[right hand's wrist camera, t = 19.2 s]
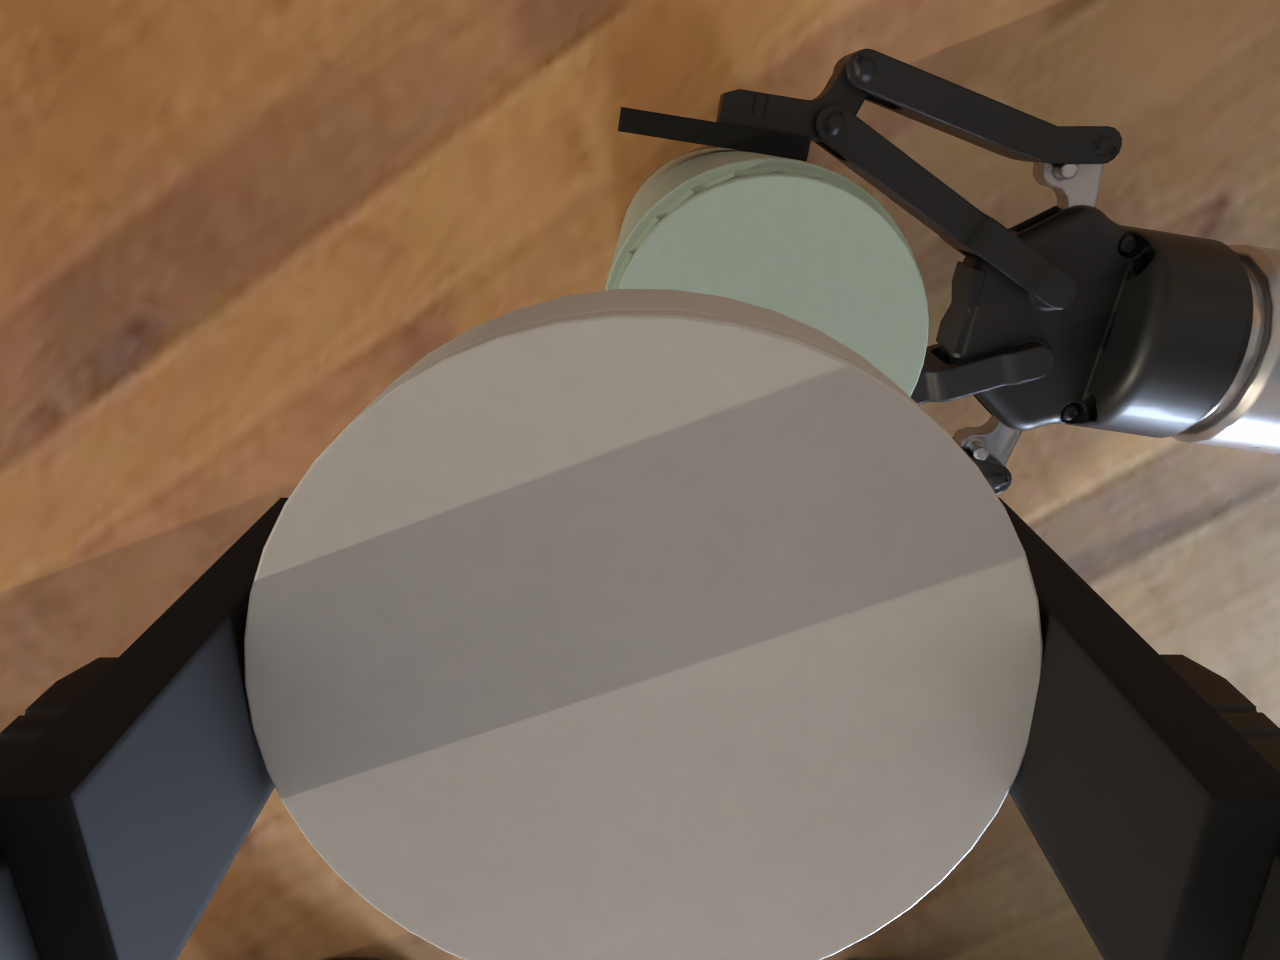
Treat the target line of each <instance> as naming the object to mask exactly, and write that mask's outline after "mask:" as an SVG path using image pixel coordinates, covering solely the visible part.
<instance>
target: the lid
mask: <svg viewBox="0 0 1280 960" xmlns="http://www.w3.org/2000/svg"><path fill="white" fill-rule="evenodd" d="M1042 655H1043V640H1042V631H1041V622H1040V613H1039V604H1038V597H1037V594H1036V590H1035V586H1034V583H1033V579H1032V575H1031V572H1030V568H1029V564H1028V561H1027V557H1026V554H1025V551H1024V549H1023V547H1022V545H1021V542H1020V540H1019V538H1018V536H1017V533H1016V531H1015V529H1014V527H1013V525H1012V522H1011V520H1010V518H1009V516H1008V514H1007V511H1006V509H1005V507H1004V506H1003V504H1002V503H1001V501H1000V500H999V498H998V497H997V495H996V494H995V492H994V491H993V489H992V488H991V486H990V485H989V483H988V482H987V480H986V479H985V477H984V476H983V474H982V473H981V471H980V470H979V468H978V466H977V465H976V464H975V463H974V462H973V461H972V460H971V459H970V457H969V456H968V455H967V454H966V453H965V452H964V451H963V450H962V449H961V448H960V446H959V445H958V444H957V443H956V442H955V441H954V440H953V439H952V438H951V436H950V435H949V434H948V433H947V432H946V431H945V430H944V429H943V428H942V427H941V426H940V425H939V424H938V423H937V422H936V421H935V420H934V419H933V418H932V417H931V416H930V415H929V414H928V413H927V412H925V411H924V410H923V409H922V408H921V407H920V406H919V405H918V404H917V403H916V402H915V401H914V400H913V399H912V398H911V397H909V396H908V395H907V394H906V393H905V392H904V391H903V390H902V389H901V388H900V387H899V386H898V385H896V384H895V383H894V382H893V381H891V380H890V379H889V378H888V377H887V376H885V375H884V374H883V373H882V372H881V371H879V370H878V369H877V368H876V367H874V366H873V365H872V364H871V363H870V362H868V361H867V360H866V359H865V358H864V357H862V356H861V355H859V354H857V353H856V352H854V351H853V350H851V349H849V348H848V347H846V346H844V345H843V344H841V343H839V342H838V341H836V340H835V339H833V338H831V337H830V336H828V335H826V334H825V333H823V332H821V331H820V330H817V329H815V328H813V327H810V326H808V325H806V324H804V323H801V322H799V321H797V320H794V319H792V318H790V317H787V316H785V315H783V314H780V313H778V312H776V311H773V310H770V309H766V308H763V307H759V306H756V305H752V304H749V303H745V302H741V301H738V300H734V299H731V298H727V297H723V296H716V295H709V294H702V293H695V292H688V291H681V290H673V289H616V290H608V291H600V292H592V293H584V294H576V295H568V296H564V297H561V298H557V299H553V300H549V301H546V302H542V303H538V304H534V305H530V306H527V307H523V308H519V309H516V310H514V311H512V312H509V313H507V314H504V315H502V316H500V317H497V318H495V319H492V320H490V321H488V322H485V323H483V324H480V325H478V326H475V327H473V328H471V329H469V330H467V331H466V332H464V333H462V334H461V335H459V336H457V337H456V338H454V339H452V340H450V341H449V342H447V343H445V344H444V345H442V346H440V347H439V348H437V349H435V350H433V351H432V352H430V353H428V354H427V355H426V356H425V357H423V358H422V359H421V360H420V361H418V362H417V363H416V364H415V365H413V366H412V367H411V368H410V369H408V370H407V371H406V372H405V373H403V374H402V375H401V376H400V377H398V378H397V379H396V380H395V381H393V382H392V383H391V384H390V385H389V386H388V387H387V388H386V389H385V390H384V391H383V392H382V393H380V394H379V395H378V396H377V397H376V398H375V399H374V400H373V401H372V402H371V403H370V404H369V405H368V406H367V407H366V408H365V409H364V410H363V411H362V412H361V413H360V414H359V415H358V416H357V417H356V418H355V419H353V420H352V421H351V422H350V423H349V424H348V426H347V427H346V428H345V429H344V430H343V431H342V432H341V433H340V434H339V435H338V436H337V437H336V438H335V439H334V440H333V442H332V443H331V444H330V445H329V446H328V447H327V448H326V449H325V450H324V451H323V452H322V453H321V454H320V455H319V456H318V458H317V459H316V460H315V461H314V462H313V463H312V465H311V466H310V468H309V469H308V471H307V472H306V474H305V475H304V477H303V478H302V479H301V481H300V482H299V484H298V485H297V487H296V488H295V490H294V491H293V493H292V494H291V495H290V497H289V498H288V500H287V501H286V503H285V504H284V507H283V509H282V511H281V513H280V515H279V517H278V519H277V521H276V523H275V525H274V527H273V529H272V532H271V534H270V536H269V538H268V540H267V542H266V544H265V546H264V548H263V552H262V555H261V559H260V562H259V565H258V569H257V572H256V575H255V579H254V582H253V585H252V589H251V592H250V598H249V606H248V613H247V621H246V628H245V636H244V657H245V687H246V693H247V698H248V704H249V709H250V715H251V721H252V726H253V730H254V733H255V736H256V739H257V742H258V745H259V748H260V751H261V754H262V757H263V760H264V763H265V766H266V769H267V771H268V773H269V775H270V777H271V779H272V781H273V783H274V785H275V787H276V789H277V791H278V793H279V795H280V797H281V799H282V801H283V803H284V805H285V807H286V809H287V811H288V812H289V814H290V815H291V816H292V818H293V819H294V821H295V822H296V824H297V825H298V827H299V828H300V830H301V831H302V832H303V834H304V835H305V837H306V838H307V840H308V841H309V843H310V844H311V845H312V847H313V848H314V849H315V850H316V851H317V852H318V853H319V854H320V856H321V857H322V858H323V859H324V860H325V861H326V862H327V863H328V864H329V866H330V867H331V868H332V869H333V870H334V871H335V872H336V873H337V875H338V876H339V877H340V878H341V879H342V880H344V881H345V882H346V883H347V884H348V885H349V886H350V887H351V888H353V889H354V890H355V891H356V892H357V893H358V894H359V895H361V896H362V897H363V898H364V899H365V900H366V901H367V902H369V903H370V904H371V905H372V906H373V907H375V908H376V909H377V910H379V911H380V912H382V913H383V914H385V915H386V916H388V917H389V918H390V919H392V920H393V921H395V922H396V923H398V924H399V925H400V926H402V927H403V928H405V929H406V930H408V931H409V932H411V933H413V934H415V935H417V936H418V937H420V938H422V939H424V940H426V941H428V942H429V943H431V944H433V945H435V946H437V947H439V948H440V949H442V950H444V951H446V952H448V953H450V954H453V955H455V956H458V957H460V958H462V959H465V960H821V959H824V958H826V957H828V956H831V955H833V954H835V953H837V952H839V951H841V950H843V949H845V948H847V947H849V946H851V945H853V944H854V943H856V942H858V941H860V940H862V939H864V938H866V937H868V936H870V935H871V934H873V933H875V932H876V931H878V930H879V929H881V928H882V927H884V926H885V925H887V924H888V923H890V922H891V921H892V920H894V919H895V918H897V917H898V916H900V915H901V914H903V913H904V912H906V911H907V910H909V909H910V908H911V907H912V906H914V905H915V904H916V903H917V902H918V901H919V900H921V899H922V898H923V897H924V896H925V895H926V894H928V893H929V892H930V891H931V890H932V889H933V888H935V887H936V886H937V885H938V884H939V883H940V882H942V881H943V880H944V879H945V877H946V876H947V875H948V874H949V873H950V872H951V871H952V870H953V869H954V868H955V867H956V866H957V864H958V863H959V862H960V861H961V860H962V859H963V858H964V857H965V856H966V855H967V854H968V852H969V851H970V850H971V849H972V848H973V847H974V845H975V844H976V842H977V841H978V840H979V838H980V837H981V835H982V834H983V833H984V831H985V830H986V828H987V827H988V825H989V824H990V823H991V821H992V820H993V818H994V817H995V816H996V814H997V813H998V811H999V809H1000V807H1001V805H1002V803H1003V801H1004V799H1005V797H1006V796H1007V794H1008V792H1009V790H1010V788H1011V786H1012V784H1013V782H1014V780H1015V778H1016V777H1017V775H1018V772H1019V769H1020V766H1021V763H1022V761H1023V758H1024V755H1025V751H1026V747H1027V743H1028V738H1029V733H1030V727H1031V722H1032V717H1033V712H1034V706H1035V701H1036V696H1037V691H1038V685H1039V680H1040V674H1041V667H1042Z"/></svg>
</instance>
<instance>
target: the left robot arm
mask: <svg viewBox="0 0 1280 960" xmlns="http://www.w3.org/2000/svg"><path fill="white" fill-rule="evenodd" d="M864 100H867V101H869V102H872V103H874V104H876V105H879V106H881V107H884V108H886V109H889V110H891V111H894V112H896V113H899V114H901V115H903V116H906V117H908V118H911V119H913V120H916V121H918V122H921V123H923V124H926V125H928V126H930V127H933V128H935V129H938V130H940V131H943V132H945V133H948V134H950V135H953V136H955V137H958V138H960V139H962V140H965V141H967V142H970V143H972V144H975V145H977V146H980V147H982V148H985V149H987V150H989V151H992V152H994V153H997V154H999V155H1002V156H1005V157H1008V158H1011V159H1015V160H1020V161H1027V162H1034V166H1033V175H1034V179H1035V180H1036V181H1037V182H1038V183H1039V184H1040V185H1043V186H1047V187H1050V188H1051V189H1052V190H1053V191H1054V192H1055V194H1056V196H1057V206H1054V207H1052V208H1050V209H1048V210H1046V211H1044V212H1042V213H1040V214H1038V215H1036V216H1034V217H1032V218H1030V219H1028V220H1026V221H1024V222H1022V223H1020V224H1018V225H1016V226H1014V227H1012V228H1010V229H1007V228H1005V227H1004V226H1003V225H1001V224H1000V223H999V222H997V221H996V220H994V219H993V218H991V217H989V216H987V215H985V214H984V213H982V212H981V211H979V210H978V209H977V208H976V207H974V206H973V205H972V204H970V203H969V202H968V201H966V200H965V199H964V198H962V197H961V196H960V195H959V194H957V193H956V192H955V191H953V190H952V189H951V188H949V187H948V186H947V185H945V184H944V183H943V182H942V181H940V180H939V179H938V178H936V177H935V176H934V175H932V174H931V173H930V172H928V171H927V170H926V169H925V168H923V167H922V166H921V165H919V164H918V163H917V162H915V161H914V160H913V159H911V158H910V157H909V156H908V155H906V154H905V153H904V152H902V151H901V150H900V149H898V148H897V147H896V146H894V145H893V144H892V143H890V142H889V141H888V140H887V139H885V138H884V137H883V136H881V135H880V134H879V133H877V132H876V131H875V130H873V129H872V128H871V127H870V126H868V125H867V124H866V123H864V122H863V121H862V120H860V119H859V118H858V117H856V114H857V112H858V110H859V109H860V107H861V105H862V104H863V102H864ZM618 131H621V132H628V133H634V134H640V135H646V136H653V137H659V138H665V139H671V140H678V141H684V142H690V143H696V144H703V145H709V146H715V147H721V148H728V149H734V150H740V151H746V152H754V153H760V154H765V155H771V156H778V157H784V158H790V159H796V160H803V161H807V156H808V151H809V147H810V142H811V140H812V141H814V142H815V143H816V144H818V145H819V146H820V147H822V148H823V149H824V150H826V151H827V152H828V153H830V154H831V155H832V156H834V157H835V158H836V159H838V160H839V161H840V162H842V163H843V164H844V165H846V166H847V167H848V168H850V169H851V170H852V171H854V172H855V173H856V174H858V175H859V176H861V177H862V178H863V179H865V180H866V181H867V182H869V183H870V184H871V185H873V186H874V187H875V188H877V189H878V190H879V191H881V192H882V193H883V194H885V195H886V196H887V197H889V198H890V199H891V200H893V201H894V202H895V203H897V204H898V205H899V206H901V207H902V208H903V209H905V210H906V211H907V212H909V213H910V214H911V215H913V216H914V217H915V218H917V219H918V220H919V221H921V222H922V223H923V224H925V225H926V226H927V227H929V228H930V229H931V230H933V231H934V232H935V233H937V234H938V235H939V236H940V237H941V238H942V239H943V240H944V241H945V242H947V243H948V244H949V245H951V246H952V247H953V248H955V249H956V250H957V251H959V252H960V253H961V254H963V255H964V256H965V259H964V261H963V262H958V261H957V265H956V269H955V272H954V276H953V280H952V302H951V305H950V306H949V308H948V310H947V312H946V314H945V315H944V317H943V319H942V321H941V323H940V327H939V331H938V334H937V338H936V341H937V342H938V343H939V344H935V345H932V346H928V347H927V348H926V353H925V358H924V363H923V367H922V370H921V373H920V375H919V378H918V381H917V384H916V386H915V388H914V390H913V392H912V394H911V396H910V397H911V398H912V399H913V400H914V401H915V402H916V403H917V404H918V405H919V404H922V403H926V402H946V401H951V400H954V399H958V398H962V397H965V396H969V395H972V394H973V395H974V396H975V397H976V399H977V400H978V401H979V402H980V403H981V404H982V405H983V406H984V407H985V408H986V409H987V411H988V412H989V413H990V414H991V415H992V416H991V418H990V419H989V421H988V422H986V423H985V424H984V425H982V426H979V427H966V428H962V429H959V430H957V431H956V432H955V434H954V437H953V438H952V439H953V440H954V441H955V442H956V443H957V444H958V445H959V446H960V448H961V449H962V450H963V451H964V452H965V453H966V454H967V455H968V456H969V457H970V459H971V460H972V461H973V462H974V463H975V464H976V465H977V466H978V468H979V470H980V471H981V473H982V474H983V476H984V477H985V479H986V480H987V482H988V483H989V485H990V486H991V488H992V489H993V491H994V492H995V494H999V493H1002V492H1004V491H1005V490H1007V488H1008V487H1009V486H1010V484H1011V480H1012V478H1011V473H1010V472H1009V470H1008V469H1007V468H1006V467H1005V465H1006V463H1007V460H1008V458H1009V456H1010V454H1011V452H1012V450H1013V448H1014V446H1015V444H1016V442H1017V440H1018V438H1019V436H1020V434H1021V432H1022V430H1030V429H1034V428H1036V427H1039V426H1042V425H1046V424H1053V423H1062V424H1068V425H1075V426H1081V427H1088V428H1095V429H1102V430H1109V431H1115V432H1122V433H1129V434H1136V435H1143V436H1150V437H1160V438H1163V437H1170V436H1171V437H1173V438H1175V439H1176V440H1179V441H1184V442H1190V443H1197V444H1204V445H1211V446H1219V447H1226V448H1233V449H1241V450H1248V451H1255V452H1263V453H1270V454H1278V455H1280V250H1274V249H1268V248H1262V247H1255V246H1249V245H1230V246H1227V245H1225V244H1224V243H1222V242H1219V241H1216V240H1211V239H1204V238H1198V237H1192V236H1185V235H1179V234H1173V233H1166V232H1160V231H1154V230H1147V229H1141V228H1135V227H1129V226H1122V225H1119V224H1116V223H1114V222H1113V221H1112V220H1110V219H1109V218H1108V217H1107V216H1106V215H1105V214H1104V213H1103V212H1102V211H1100V210H1099V209H1097V208H1095V206H1096V201H1097V195H1098V189H1099V184H1100V178H1101V173H1102V167H1103V164H1104V163H1108V162H1110V161H1111V160H1113V159H1114V158H1115V157H1116V156H1117V154H1118V153H1119V151H1120V148H1121V146H1122V138H1121V135H1120V133H1119V132H1118V131H1117V130H1116V129H1115V128H1113V127H1108V126H1055V125H1053V124H1051V123H1048V122H1046V121H1043V120H1041V119H1039V118H1036V117H1034V116H1031V115H1029V114H1027V113H1024V112H1022V111H1019V110H1017V109H1014V108H1012V107H1010V106H1007V105H1005V104H1002V103H1000V102H998V101H995V100H993V99H990V98H988V97H986V96H983V95H981V94H978V93H976V92H974V91H971V90H969V89H966V88H964V87H961V86H959V85H957V84H954V83H952V82H949V81H947V80H945V79H942V78H940V77H937V76H935V75H933V74H930V73H928V72H925V71H923V70H921V69H918V68H916V67H913V66H911V65H908V64H906V63H904V62H901V61H899V60H896V59H894V58H892V57H889V56H887V55H884V54H882V53H880V52H877V51H875V50H871V49H863V50H859V51H857V52H854V53H852V54H849V55H847V56H844V57H843V58H841V59H840V60H839V61H838V62H837V64H836V65H835V67H834V71H833V74H832V76H831V78H830V79H829V81H828V83H827V85H826V86H825V88H824V90H823V91H822V93H821V94H820V95H819V96H818V97H816V98H815V99H813V100H802V99H796V98H790V97H784V96H778V95H772V94H766V93H760V92H753V91H747V90H741V89H739V90H735V91H731V92H727V93H723V94H722V95H721V96H720V102H719V108H718V114H717V120H716V122H710V121H704V120H698V119H692V118H685V117H679V116H673V115H667V114H661V113H654V112H648V111H642V110H636V109H630V108H623V107H621V112H620V120H619V127H618Z"/></svg>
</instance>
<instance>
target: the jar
mask: <svg viewBox="0 0 1280 960" xmlns="http://www.w3.org/2000/svg"><path fill="white" fill-rule="evenodd" d="M616 289H673V290H681V291H688V292H695V293H702V294H709V295H716V296H723V297H727V298H731V299H734V300H738V301H741V302H745V303H749V304H752V305H756V306H759V307H763V308H766V309H770V310H773V311H776V312H778V313H780V314H783V315H785V316H787V317H790V318H792V319H794V320H797V321H799V322H801V323H804V324H806V325H808V326H810V327H813V328H815V329H817V330H820V331H821V332H823V333H825V334H826V335H828V336H830V337H831V338H833V339H835V340H836V341H838V342H839V343H841V344H843V345H844V346H846V347H848V348H849V349H851V350H853V351H854V352H856V353H857V354H859V355H861V356H862V357H864V358H865V359H866V360H867V361H868V362H870V363H871V364H872V365H873V366H874V367H876V368H877V369H878V370H879V371H881V372H882V373H883V374H884V375H885V376H887V377H888V378H889V379H890V380H891V381H893V382H894V383H895V384H896V385H898V386H899V387H900V388H901V389H902V390H903V391H904V392H905V393H906V394H907V395H908V396H909V397H910V396H911V394H912V392H913V390H914V388H915V386H916V384H917V381H918V378H919V375H920V373H921V370H922V367H923V363H924V358H925V353H926V348H927V342H928V328H929V319H928V303H927V298H926V293H925V288H924V283H923V280H922V277H921V274H920V272H919V269H918V266H917V263H916V261H915V259H914V256H913V253H912V251H911V248H910V246H909V244H908V242H907V240H906V238H905V236H904V235H903V233H902V231H901V229H900V228H899V226H898V225H897V224H896V222H895V221H894V219H893V218H892V217H891V215H890V214H889V212H888V211H887V210H886V209H885V208H884V207H883V206H882V205H881V204H880V203H879V202H878V201H877V200H876V199H875V198H874V197H873V196H872V195H871V194H869V193H868V192H867V191H865V190H864V189H863V188H862V187H860V186H859V185H858V184H856V183H855V182H853V181H851V180H849V179H847V178H846V177H844V176H842V175H840V174H839V173H837V172H834V171H832V170H829V169H826V168H824V167H821V166H819V165H816V164H811V163H807V162H803V161H798V160H794V159H788V158H782V157H777V156H771V155H765V154H760V153H754V152H746V151H740V150H734V149H728V148H707V149H702V150H696V151H692V152H690V153H687V154H684V155H681V156H679V157H677V158H675V159H673V160H671V161H669V162H668V163H666V164H665V165H663V166H662V167H660V168H659V169H658V170H657V171H655V172H654V173H653V174H652V175H651V176H650V177H649V178H648V179H647V180H646V181H645V182H644V184H643V185H642V186H641V187H640V188H639V190H638V191H637V193H636V194H635V196H634V198H633V199H632V201H631V203H630V205H629V207H628V209H627V212H626V215H625V218H624V221H623V224H622V227H621V231H620V235H619V238H618V242H617V246H616V249H615V253H614V257H613V260H612V264H611V268H610V271H609V275H608V279H607V282H606V287H605V291H608V290H616Z"/></svg>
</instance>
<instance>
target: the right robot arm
mask: <svg viewBox="0 0 1280 960" xmlns="http://www.w3.org/2000/svg"><path fill="white" fill-rule="evenodd" d="M287 500H288V498H280V499H279V500H278V501H277V502H276V503H275V504H274V505H273V506H272V507H271V508H270V509H269V510H268V511H267V512H266V513H265V514H264V515H263V516H262V517H261V518H260V519H259V520H258V521H257V522H256V523H255V524H254V525H253V526H252V527H251V528H250V529H249V530H248V531H247V532H246V533H245V534H244V535H243V536H242V537H241V538H240V539H239V540H238V541H237V542H236V543H234V544H233V545H232V546H231V547H230V548H229V549H228V550H227V551H226V552H225V553H224V554H223V555H222V556H221V557H220V558H219V559H218V560H217V561H216V562H215V563H214V564H213V565H212V566H211V567H210V568H209V569H208V570H207V571H206V572H205V573H204V574H203V575H202V576H201V577H200V578H199V579H198V580H197V581H196V582H195V583H194V584H193V585H192V586H191V587H190V588H189V589H188V590H187V591H186V592H185V593H184V594H183V595H182V596H181V597H180V598H179V599H178V600H177V601H176V602H175V603H174V604H173V605H172V606H171V607H170V608H169V609H167V610H166V611H165V612H164V613H163V614H162V615H161V616H160V617H159V618H158V619H157V620H156V621H155V622H154V623H153V624H152V625H151V626H150V627H149V628H148V629H147V630H146V631H145V632H144V633H143V634H142V635H141V636H140V637H139V638H138V639H137V640H136V641H135V642H134V643H133V644H132V645H131V646H130V647H129V648H128V649H127V650H126V651H125V652H124V653H123V654H122V655H121V656H120V657H119V658H98V659H96V660H94V661H92V662H91V663H89V664H87V665H85V666H83V667H82V668H80V669H78V670H76V671H74V672H73V673H71V674H69V675H67V676H66V677H64V678H62V679H60V680H58V681H57V682H55V683H54V684H53V685H52V686H51V687H50V688H49V689H48V690H47V691H46V692H45V693H43V694H42V695H41V696H40V697H39V698H38V699H37V700H36V701H35V702H34V703H33V704H31V705H30V706H29V707H28V708H27V709H26V710H25V711H26V713H25V715H24V716H18V717H17V718H16V719H15V720H14V721H13V722H12V723H11V724H10V725H9V726H8V727H7V728H5V729H4V730H3V731H2V732H1V733H0V960H177V958H178V956H179V954H180V953H181V951H182V949H183V947H184V946H185V944H186V942H187V940H188V938H189V937H190V935H191V933H192V931H193V930H194V928H195V926H196V924H197V923H198V921H199V919H200V917H201V916H202V914H203V912H204V910H205V909H206V907H207V905H208V903H209V902H210V900H211V898H212V896H213V894H214V893H215V891H216V889H217V887H218V886H219V884H220V882H221V880H222V879H223V877H224V875H225V873H226V872H227V870H228V868H229V866H230V865H231V863H232V861H233V859H234V858H235V856H236V854H237V852H238V850H239V849H240V847H241V845H242V843H243V842H244V840H245V838H246V836H247V835H248V833H249V831H250V829H251V828H252V826H253V824H254V822H255V821H256V819H257V817H258V815H259V814H260V812H261V810H262V808H263V806H264V805H265V803H266V801H267V799H268V798H269V796H270V794H271V792H272V791H273V789H274V787H275V785H274V783H273V781H272V779H271V777H270V775H269V773H268V771H267V769H266V766H265V763H264V760H263V757H262V754H261V751H260V748H259V745H258V742H257V739H256V736H255V733H254V730H253V726H252V721H251V715H250V709H249V704H248V698H247V693H246V687H245V657H244V636H245V628H246V621H247V613H248V606H249V598H250V592H251V589H252V585H253V582H254V579H255V575H256V572H257V569H258V565H259V562H260V559H261V555H262V552H263V548H264V546H265V544H266V542H267V540H268V538H269V536H270V534H271V532H272V529H273V527H274V525H275V523H276V521H277V519H278V517H279V515H280V513H281V511H282V509H283V507H284V504H285V503H286V501H287ZM999 500H1000V501H1001V503H1002V504H1003V506H1004V507H1005V509H1006V511H1007V514H1008V516H1009V518H1010V520H1011V522H1012V525H1013V527H1014V529H1015V531H1016V533H1017V536H1018V538H1019V540H1020V542H1021V545H1022V547H1023V549H1024V551H1025V554H1026V557H1027V561H1028V564H1029V568H1030V572H1031V575H1032V579H1033V583H1034V586H1035V590H1036V594H1037V597H1038V604H1039V613H1040V622H1041V631H1042V640H1043V655H1042V667H1041V674H1040V680H1039V685H1038V691H1037V696H1036V701H1035V706H1034V712H1033V717H1032V722H1031V727H1030V733H1029V738H1028V743H1027V747H1026V751H1025V755H1024V758H1023V761H1022V763H1021V766H1020V769H1019V772H1018V775H1017V777H1016V778H1015V780H1014V782H1013V784H1012V786H1011V788H1010V790H1009V793H1010V795H1011V797H1012V798H1013V800H1014V802H1015V804H1016V805H1017V807H1018V809H1019V811H1020V813H1021V814H1022V816H1023V818H1024V820H1025V821H1026V823H1027V825H1028V827H1029V828H1030V830H1031V832H1032V834H1033V835H1034V837H1035V839H1036V841H1037V842H1038V844H1039V846H1040V848H1041V849H1042V851H1043V853H1044V855H1045V857H1046V858H1047V860H1048V862H1049V864H1050V865H1051V867H1052V869H1053V871H1054V872H1055V874H1056V876H1057V878H1058V879H1059V881H1060V883H1061V885H1062V886H1063V888H1064V890H1065V892H1066V893H1067V895H1068V897H1069V899H1070V901H1071V902H1072V904H1073V906H1074V908H1075V909H1076V911H1077V913H1078V915H1079V916H1080V918H1081V920H1082V922H1083V923H1084V925H1085V927H1086V929H1087V930H1088V932H1089V934H1090V936H1091V937H1092V939H1093V941H1094V943H1095V945H1096V946H1097V948H1098V950H1099V952H1100V953H1101V955H1102V957H1103V959H1104V960H1280V728H1279V727H1278V726H1276V725H1275V724H1274V723H1273V722H1272V721H1271V720H1270V719H1269V718H1268V717H1267V716H1265V715H1264V714H1263V713H1257V711H1256V706H1255V705H1253V704H1252V703H1251V702H1250V701H1249V700H1248V699H1247V698H1246V697H1245V696H1244V695H1243V694H1241V693H1240V692H1239V691H1238V690H1237V689H1236V688H1235V687H1234V686H1233V685H1232V684H1230V683H1229V682H1228V681H1227V680H1226V679H1225V678H1223V677H1221V676H1219V675H1218V674H1216V673H1214V672H1212V671H1210V670H1209V669H1207V668H1205V667H1203V666H1201V665H1200V664H1198V663H1196V662H1194V661H1192V660H1191V659H1189V658H1187V657H1185V656H1183V655H1159V654H1158V653H1157V652H1156V651H1155V650H1154V649H1153V648H1152V647H1151V646H1150V645H1149V644H1148V643H1147V642H1146V641H1145V640H1144V639H1143V638H1142V637H1141V636H1140V635H1139V634H1138V633H1136V632H1135V631H1134V630H1133V629H1132V628H1131V627H1130V626H1129V625H1128V624H1127V623H1126V622H1125V621H1124V620H1123V619H1122V618H1121V617H1120V616H1119V615H1118V614H1117V613H1116V612H1115V611H1114V610H1113V609H1112V608H1111V607H1110V606H1109V605H1108V604H1107V603H1106V602H1105V601H1104V600H1103V599H1102V598H1101V597H1100V596H1099V595H1098V594H1097V593H1096V592H1095V591H1094V590H1093V589H1092V588H1091V587H1090V586H1089V585H1088V584H1087V583H1086V582H1085V581H1084V580H1083V579H1082V578H1081V577H1080V576H1079V575H1078V574H1077V573H1076V572H1075V571H1074V570H1073V569H1072V568H1070V567H1069V566H1068V565H1067V564H1066V563H1065V562H1064V561H1063V560H1062V559H1061V558H1060V557H1059V556H1058V555H1057V554H1056V553H1055V552H1054V551H1053V550H1052V549H1051V548H1050V547H1049V546H1048V545H1047V544H1046V543H1045V542H1044V541H1043V540H1042V539H1041V538H1040V537H1039V536H1038V535H1037V534H1036V533H1035V532H1034V531H1033V530H1032V529H1031V528H1030V527H1029V526H1028V525H1027V524H1026V523H1025V522H1024V521H1023V520H1022V519H1021V518H1020V517H1019V516H1018V515H1017V514H1016V513H1015V512H1014V511H1013V510H1012V509H1011V508H1010V507H1009V506H1008V505H1007V504H1006V503H1004V502H1003V501H1002V500H1001V499H1000V498H999Z"/></svg>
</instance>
